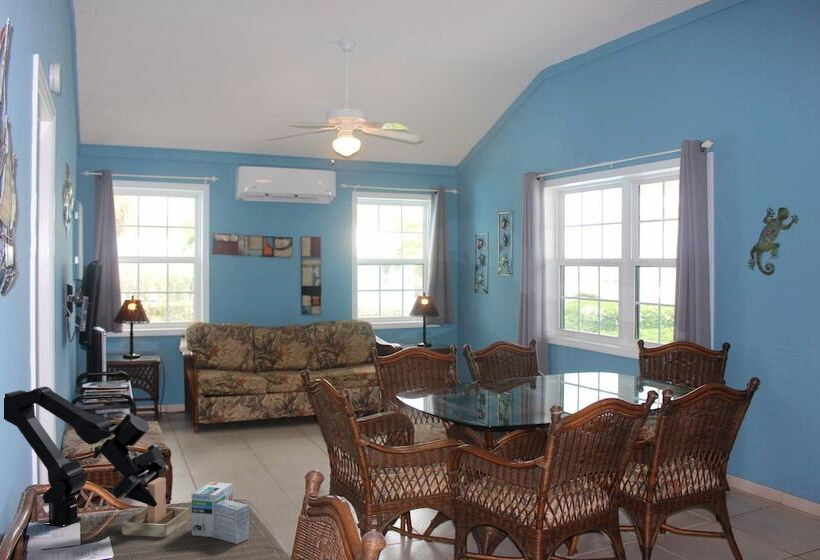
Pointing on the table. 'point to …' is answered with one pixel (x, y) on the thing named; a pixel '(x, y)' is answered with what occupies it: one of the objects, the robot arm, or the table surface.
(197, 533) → the light bulb box
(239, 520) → the medicine box
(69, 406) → the robot arm
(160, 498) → the rectangular block
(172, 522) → the slot box
